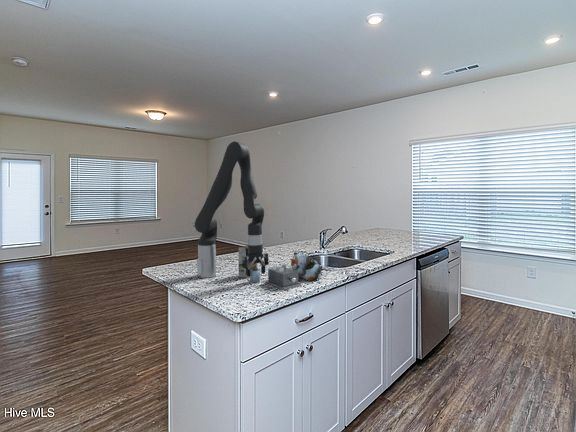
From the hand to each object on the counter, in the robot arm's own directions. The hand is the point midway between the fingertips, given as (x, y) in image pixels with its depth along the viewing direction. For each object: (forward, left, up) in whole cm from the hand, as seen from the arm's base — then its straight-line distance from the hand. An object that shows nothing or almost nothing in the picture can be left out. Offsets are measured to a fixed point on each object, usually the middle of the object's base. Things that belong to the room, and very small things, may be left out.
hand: (255, 274), depth 165 cm
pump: (-1, 0, -4) cm, 4 cm away
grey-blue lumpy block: (+25, -10, -4) cm, 28 cm away
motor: (+8, -12, -3) cm, 15 cm away
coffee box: (+2, +12, -4) cm, 13 cm away
